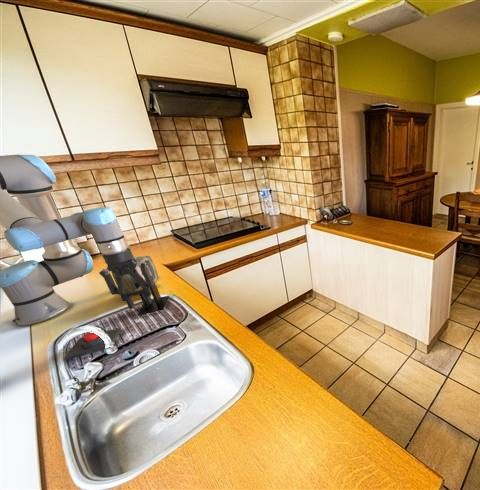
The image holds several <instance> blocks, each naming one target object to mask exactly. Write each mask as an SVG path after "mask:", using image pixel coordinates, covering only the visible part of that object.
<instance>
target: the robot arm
mask: <svg viewBox="0 0 480 490" xmlns="http://www.w3.org/2000/svg"><path fill="white" fill-rule="evenodd" d="M56 183H57V176H56V175H55V173H54V172H53V170H52V168H51V167H50V166H49V165H48V164H47V163H46V161H44V160H43V159H42V158H41V157H39V156H37V155H35V154H8V155H7V154H6V155H0V226H2V227H3V228H4V229H5V230H4V232H3V235H4V238H5V240H6V242H7V243H8V244H9V245H10V247H12V249H14V250H15V251H16V252H20V253H24V252H29V251H32V250H39V249H42V248H43V250H44V252H43V253H42V254H41V257H42V260H40V261H37V260H35V259H34V260H33V259H32V260H31V259H30V260H25V261H21V262H18V263H14V264H11V265H9V266H7V267H5V268H3V269H1V270H0V288H1V290H2V292H3V293H4V294H5V296H6V297H7V299H8V300H9V301H10V303H11V304H12V306H13V307H14V308H13V309H14V310H13V311H14V319H12V320H11V322H13V323H16V324H17V325H18V326H21V327H25V326H33V325H37V324H40V323H43V322H46V321H49V320H51V319H55V318H57V317H58V316H60V315H62V314H64V313H65V312H67V311H68V310H69V309H70V307H71V304H70V303H69V301H68V300H67V299H65V298H64V297H62V296H61V295H60V294H58V293H57V292H56V291H55V289H54V287H56V286H59V285H62V284H65V283H67V282H70V281H73V280H76V279H79V278H82V277H84V276H86V275H88V274H90V273H92V272H93V271H94V266H95V265H94V260H93V257H92V256H91V254H90V252H89V251H87V250H86V249H84V248H81V247H80V246H78V245H75V244H74V242H73V240H74V239H78V238H81V237H85V236H88V235H89V236H90V235H91V236H92V238H93V239H94V241H95V244H96V245H97V248H98V250H99V252H100V253H101V254H102V258H103V260H104V262H105V264H106V265H107V267H106V268H103V269H101V270H100V271H99V272H98V274H99V275H100V276H101V277H102V278H103V280H104V281H105V284H106V285H107V288H108V289H109V291H110V294H111V295H113V296H115V295H119V297H120V299H121V301H122V302H123V303H124V302H125V303H126V305H127V306H128V309H129V310H132V309H134V307H135V302H134V301H133V298H132V296H130V297H128V296H127V293H128V291H126V292H125V287H124V275H125V274H129V275H130V276H132V277H133V278H134V279H135V280H136V281H137V282H138V283H139V285H140V286H141V287H142V288H143V289H142V293H143V295H144V297H145V299H146V302H147V304H148V305H150V304H151V302H152V299H153V298H152V297H151V296H152V292H151V290H150V288H149V287H151V286H152V285H153V284H154V282H153V280H152V277H151V275H150V273H149V271H148V269H147V262H146V261H144V262H137V261H136V260H135V259H134V257H133V255H134V254H133V252H132V249H131V250H130V248H129V246H130V245H129V244H128V241H127V239H126V237H125V235H124V232H123V230H122V228H121V226H120V223H119V221H118V218H117V216H116V214H115V212H114V211H113V209H112V208H111V207H109V206H101V207H94V208H90V209H86V210H83V211H81V212H75V213H73V214H71V215H68V216H64V217H63V216H61V214H60V212H59V211H58V209H57V206H56V204H55V201H54V200H53V197H52V194H51V192H52V191H53V190H54V187H53V185H55V184H56ZM14 197H16V198H17V199H16V198H14ZM128 245H129V246H128ZM136 266H139V268H141V272H142V274H143V276H144V278H145V280H146V281H145V280H144V279H143V278H142V276H141V275H140V274H139V273H138V271H137V270H136V269H135V268H136ZM112 272H113V273H115V274H116V279H117V284H116V282H115V280H114V278H113V275H112Z"/></svg>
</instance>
